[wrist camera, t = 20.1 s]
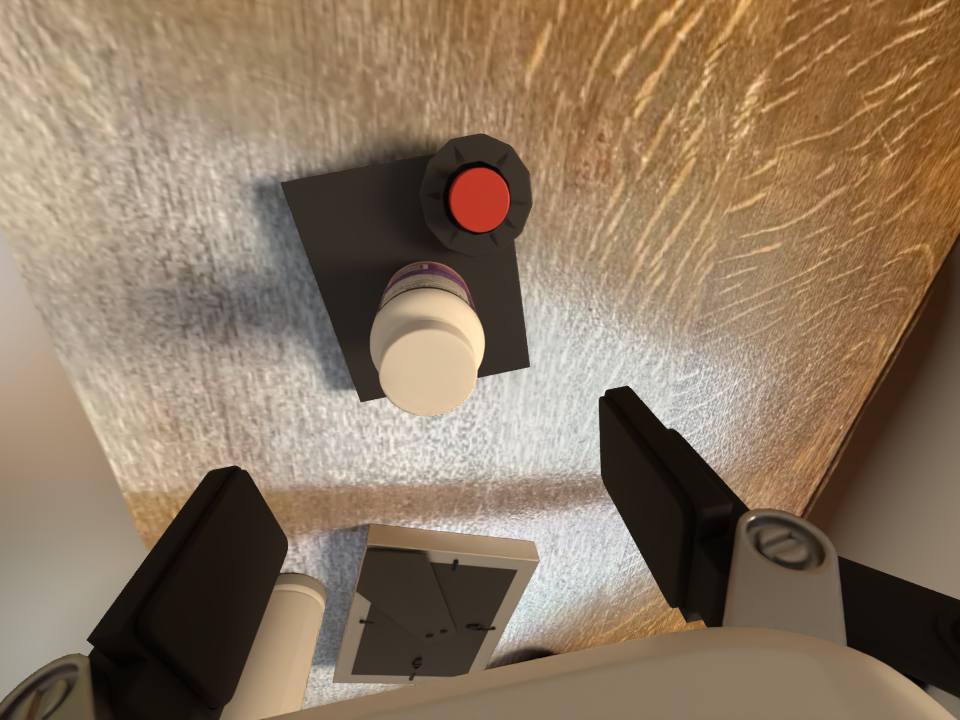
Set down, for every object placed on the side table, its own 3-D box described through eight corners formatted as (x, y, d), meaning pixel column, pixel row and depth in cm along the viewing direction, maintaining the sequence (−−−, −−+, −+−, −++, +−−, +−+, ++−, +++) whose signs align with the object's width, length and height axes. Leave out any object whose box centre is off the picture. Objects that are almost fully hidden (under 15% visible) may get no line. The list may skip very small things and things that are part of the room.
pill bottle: (456, 351, 26) (471, 442, 17) (375, 330, 25) (347, 417, 16) (482, 274, 24) (513, 333, 15) (395, 247, 23) (376, 294, 14)
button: (442, 173, 20) (444, 173, 19) (499, 163, 20) (505, 162, 19) (454, 232, 22) (456, 237, 20) (507, 222, 22) (513, 226, 20)
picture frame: (370, 523, 34) (336, 660, 42) (365, 551, 32) (330, 691, 40) (534, 541, 38) (474, 664, 46) (542, 567, 35) (477, 693, 43)
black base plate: (288, 173, 22) (265, 173, 19) (511, 131, 23) (525, 125, 19) (364, 388, 29) (356, 415, 25) (536, 353, 29) (549, 375, 26)
